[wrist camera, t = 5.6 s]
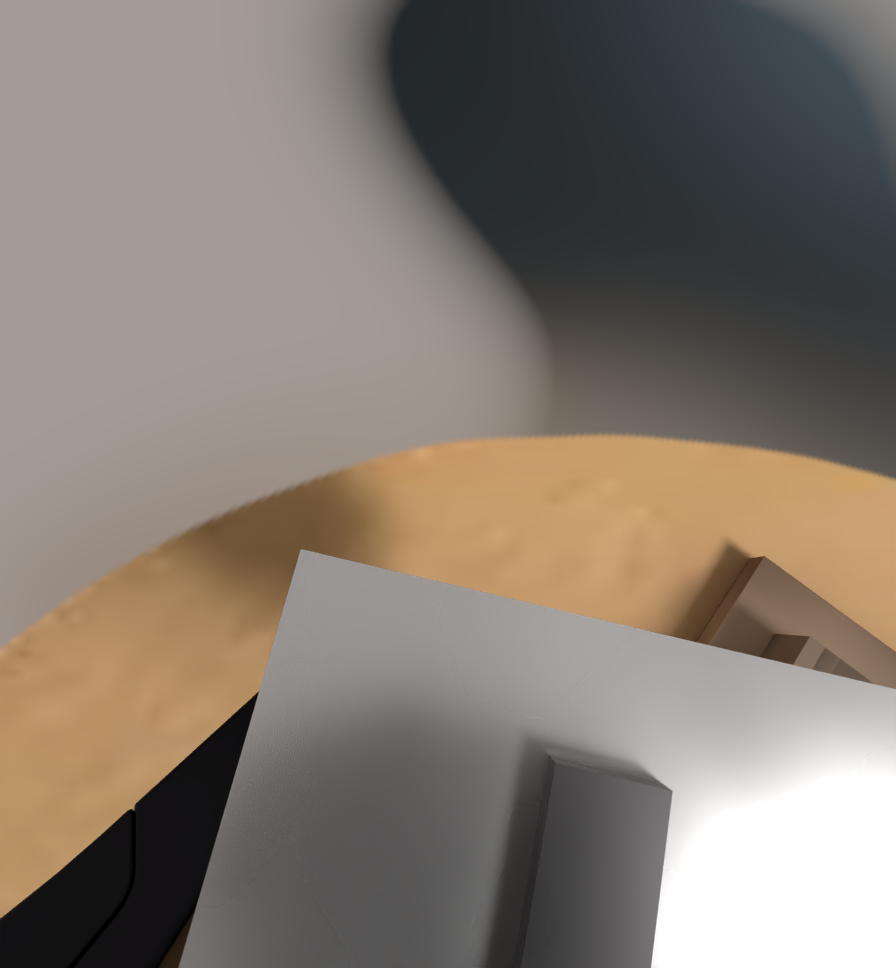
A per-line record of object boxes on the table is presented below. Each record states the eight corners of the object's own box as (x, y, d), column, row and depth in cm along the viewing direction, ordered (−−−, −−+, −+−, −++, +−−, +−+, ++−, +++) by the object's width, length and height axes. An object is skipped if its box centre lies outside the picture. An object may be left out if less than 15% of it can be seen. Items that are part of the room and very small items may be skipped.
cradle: (878, 1184, 18) (965, 1294, 15) (535, 892, 20) (554, 941, 17) (1060, 786, 21) (1163, 815, 18) (750, 558, 23) (798, 550, 20)
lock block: (534, 832, 14) (978, 1748, 3) (344, 786, 14) (14, 1494, 3) (568, 635, 15) (983, 708, 4) (392, 594, 15) (294, 546, 4)
